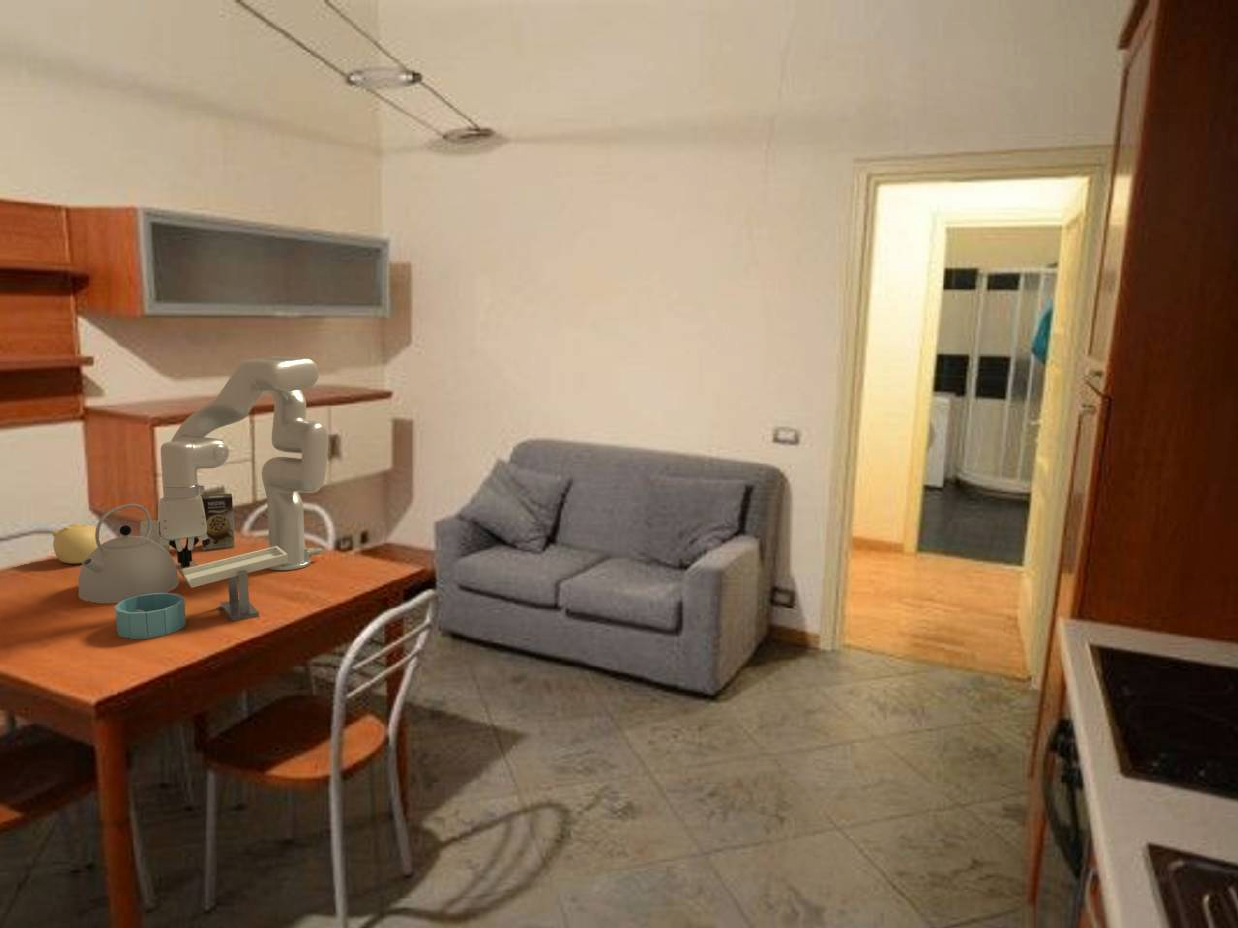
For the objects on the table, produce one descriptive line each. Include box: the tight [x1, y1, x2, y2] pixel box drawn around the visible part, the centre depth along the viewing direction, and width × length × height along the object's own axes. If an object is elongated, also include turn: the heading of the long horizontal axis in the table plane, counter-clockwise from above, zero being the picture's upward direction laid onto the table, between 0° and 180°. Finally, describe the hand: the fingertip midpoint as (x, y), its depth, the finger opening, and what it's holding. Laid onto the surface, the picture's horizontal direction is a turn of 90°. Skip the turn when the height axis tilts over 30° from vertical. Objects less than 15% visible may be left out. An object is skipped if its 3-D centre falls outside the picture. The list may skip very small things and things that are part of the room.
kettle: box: [78, 503, 180, 604], centre depth 215 cm, size 25×23×22 cm
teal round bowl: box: [114, 592, 187, 640], centre depth 191 cm, size 14×14×6 cm
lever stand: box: [219, 571, 260, 622], centre depth 202 cm, size 6×12×12 cm, turn 38°
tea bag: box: [139, 520, 171, 553], centre depth 247 cm, size 4×7×10 cm, turn 105°
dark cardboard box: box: [199, 493, 236, 551], centre depth 256 cm, size 9×6×16 cm
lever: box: [175, 546, 288, 588], centre depth 205 cm, size 22×18×3 cm
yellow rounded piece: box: [52, 523, 103, 564], centre depth 238 cm, size 11×12×11 cm
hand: (185, 564), depth 204 cm, fingers closed
